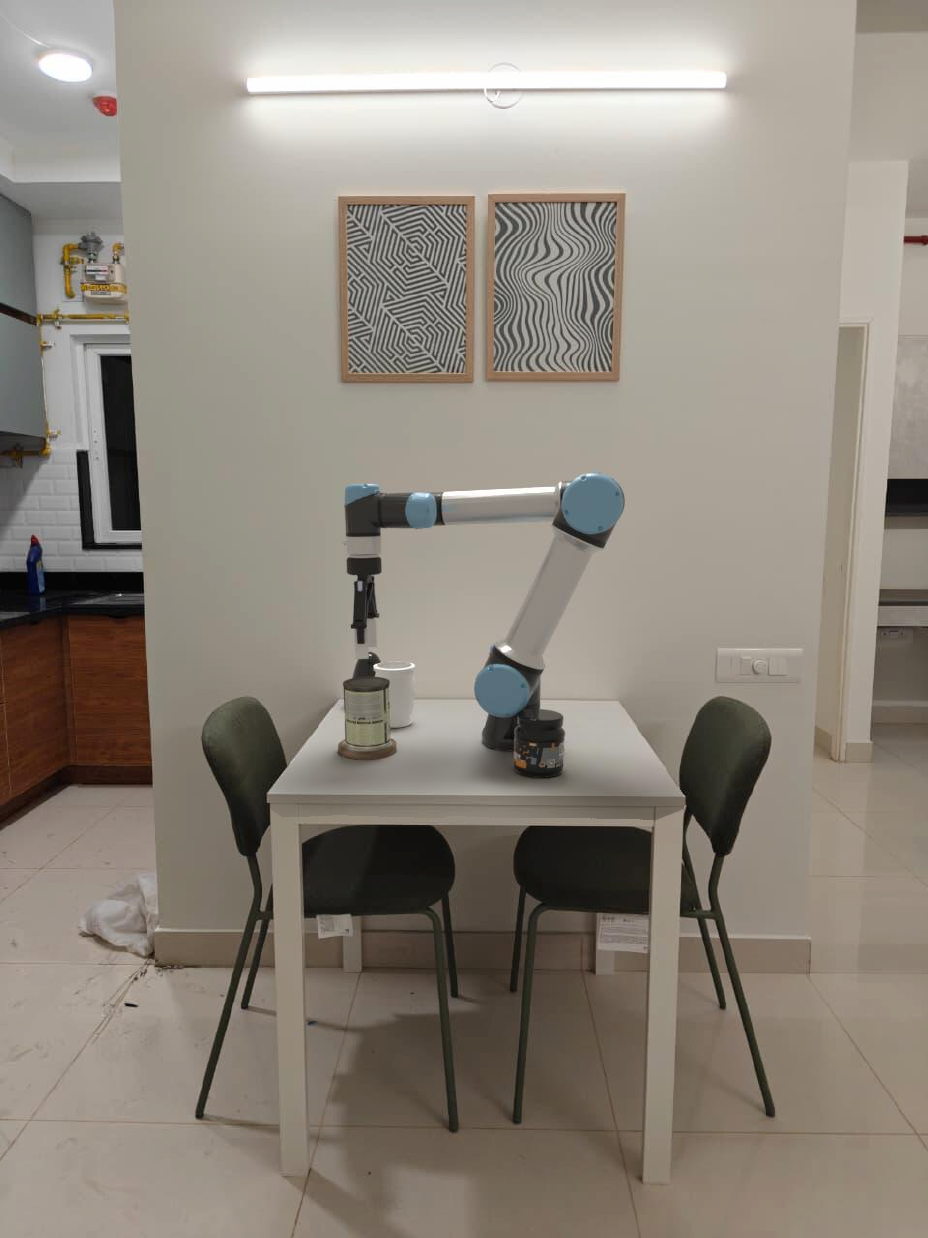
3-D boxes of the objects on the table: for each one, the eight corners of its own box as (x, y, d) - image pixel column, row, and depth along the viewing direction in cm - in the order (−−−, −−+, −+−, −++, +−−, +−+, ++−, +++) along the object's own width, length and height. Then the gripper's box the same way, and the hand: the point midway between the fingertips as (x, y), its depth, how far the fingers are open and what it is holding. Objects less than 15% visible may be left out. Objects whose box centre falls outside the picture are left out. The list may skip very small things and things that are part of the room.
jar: (414, 730, 199) (413, 669, 197) (371, 729, 199) (370, 669, 197) (417, 718, 210) (416, 660, 207) (377, 718, 210) (376, 660, 208)
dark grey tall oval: (352, 713, 215) (350, 656, 212) (349, 703, 225) (348, 648, 222) (390, 710, 217) (389, 654, 214) (386, 701, 227) (385, 647, 225)
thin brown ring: (408, 751, 182) (407, 744, 182) (358, 763, 174) (357, 756, 174) (376, 738, 192) (376, 731, 192) (327, 749, 184) (327, 741, 184)
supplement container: (507, 763, 173) (509, 708, 172) (554, 761, 176) (557, 707, 174) (520, 780, 163) (522, 722, 162) (570, 778, 165) (573, 720, 164)
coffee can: (338, 740, 185) (336, 679, 183) (381, 733, 190) (380, 674, 187) (353, 752, 176) (351, 689, 174) (398, 746, 181) (396, 683, 178)
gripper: (355, 552, 189) (358, 642, 192) (336, 560, 165) (339, 664, 168) (387, 552, 189) (389, 642, 192) (373, 560, 164) (376, 663, 168)
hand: (366, 652), depth 180 cm, fingers open, 13 cm apart
